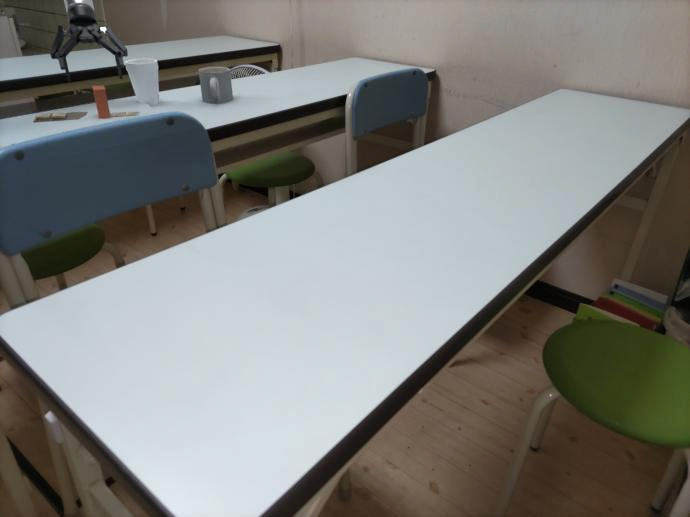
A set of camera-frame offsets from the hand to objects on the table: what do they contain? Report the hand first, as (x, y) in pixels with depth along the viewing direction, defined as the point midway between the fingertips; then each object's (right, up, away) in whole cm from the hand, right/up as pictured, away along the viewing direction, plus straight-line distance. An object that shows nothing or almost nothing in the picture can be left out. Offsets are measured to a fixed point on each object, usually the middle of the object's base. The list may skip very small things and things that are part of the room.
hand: (95, 77), depth 145 cm
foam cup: (+8, -2, +18) cm, 20 cm away
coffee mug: (+29, 0, +23) cm, 37 cm away
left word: (-10, -12, +1) cm, 15 cm away
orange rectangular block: (+2, -10, +2) cm, 11 cm away
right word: (+5, -11, +3) cm, 13 cm away
